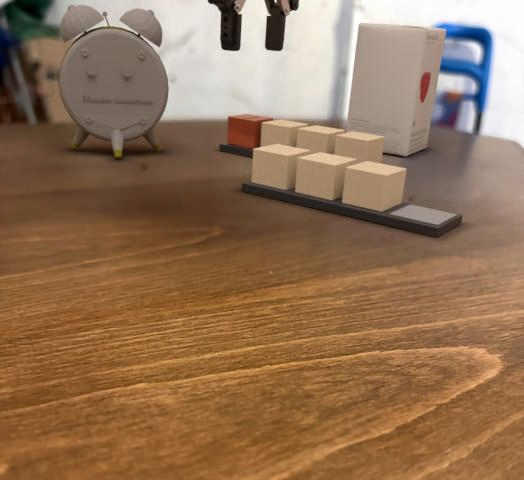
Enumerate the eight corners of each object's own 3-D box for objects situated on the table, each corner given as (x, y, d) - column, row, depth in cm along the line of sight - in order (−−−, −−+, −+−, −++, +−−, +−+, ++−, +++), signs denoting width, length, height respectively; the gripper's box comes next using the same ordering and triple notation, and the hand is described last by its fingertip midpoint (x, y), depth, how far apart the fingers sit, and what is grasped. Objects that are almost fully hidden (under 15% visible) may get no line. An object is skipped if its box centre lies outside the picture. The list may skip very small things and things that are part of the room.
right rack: (274, 182, 69) (277, 142, 67) (461, 223, 59) (470, 178, 57) (241, 191, 64) (243, 148, 63) (436, 237, 55) (445, 188, 53)
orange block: (246, 140, 85) (247, 113, 83) (272, 145, 83) (273, 117, 81) (226, 143, 82) (227, 115, 80) (253, 148, 80) (254, 120, 78)
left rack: (246, 145, 86) (248, 112, 84) (387, 172, 76) (392, 136, 74) (219, 150, 82) (220, 116, 80) (364, 180, 72) (369, 142, 70)
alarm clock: (165, 149, 81) (164, 9, 74) (171, 161, 75) (170, 10, 68) (65, 147, 78) (55, 2, 71) (62, 159, 72) (51, 3, 65)
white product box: (407, 158, 84) (427, 27, 78) (342, 147, 88) (356, 22, 81) (428, 148, 92) (449, 27, 85) (368, 139, 95) (382, 23, 89)
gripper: (251, -134, 63) (242, 54, 70) (327, -108, 73) (312, 53, 81) (190, -131, 66) (188, 47, 74) (271, -106, 77) (262, 47, 84)
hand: (253, 50), depth 77 cm, fingers open, 8 cm apart
